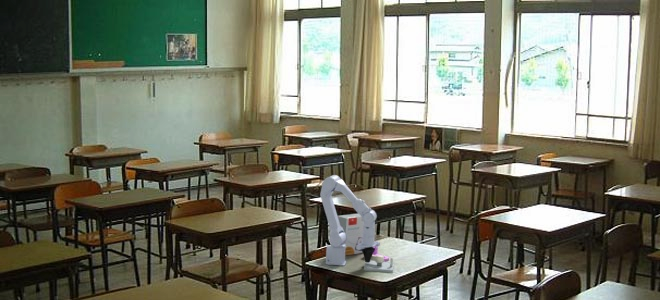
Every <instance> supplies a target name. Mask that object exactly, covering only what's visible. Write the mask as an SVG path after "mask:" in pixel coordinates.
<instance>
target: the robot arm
mask: <svg viewBox="0 0 660 300" xmlns="http://www.w3.org/2000/svg"><path fill="white" fill-rule="evenodd" d="M334 192H340V193H341V194H343V196H345V198H347V199H348V201H349V202H351V203H352V208H353V209H354V211H356V213H357V214H359V215H360V216H362V220H363V222H364V226H363V243H362V244H360V245H357V246H356V249H357V250H360V249H361V250H362V252H363V253H362V256H363V259H364V262H365V263H366V262H367V263H369V262H370V261H372V260H371V257H372V254H373V252H374V251H375V248H373V247H375V246H378V247H380V246H381V242H380V241H375V232H376V231H375V230H376V226H375V225H376V220H377V217H378V215H377V212H376V211H375V210H374V209H372V208H371V207H369V206H368V205H367V203H365V202H366V201H365V200H364V199H361V198H358V197H357V196H356V195H355V194H354V193H353V191H352V190H351V189H350V187H348V185H347V184H346V183H345V180H343V179H342V178H341V177H340V176H339V175H337V174H332V175H331V176H327V177H326V178H324V180H323V181H322V182H321V190H320V192H319V193H320V194H319V196H320V198H321V199H320V200H321V203H322V205H323V208H324V213H325V216H326V219H327V223H328V225H329V237H330V238H329V243H330V245H329V244H328V245H327V246H326V249H325V250H326V251H325V252H326V253H325V265H328V266H329V265H330V266H342V267H343V266H346V263H347V260H346V255H345V246H346V245H345V242H346V240H347V235H346V233H345V232H344V230H343V228H342V227H341V226H340V223H339V220H338V216H339V215H338V213H337V210H336V207H335V204H334V199H333V196H332V195H333V193H334Z"/></svg>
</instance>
